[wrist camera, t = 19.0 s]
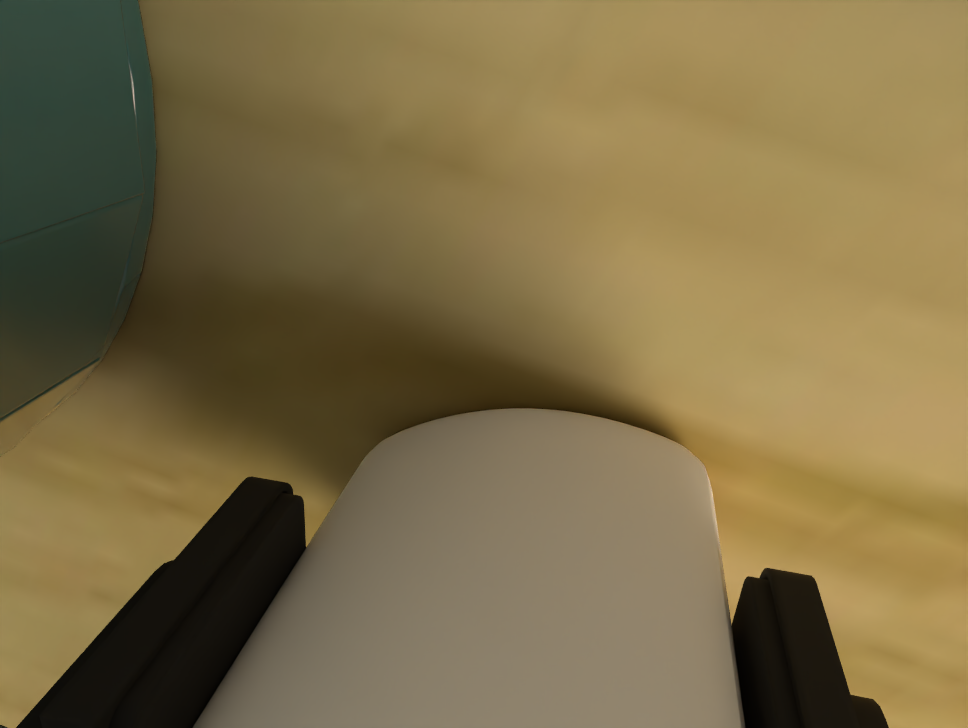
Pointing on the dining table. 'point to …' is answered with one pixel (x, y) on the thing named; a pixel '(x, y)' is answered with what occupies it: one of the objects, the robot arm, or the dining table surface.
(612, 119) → the dining table surface
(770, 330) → the dining table surface
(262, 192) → the dining table surface
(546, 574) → the eye dropper bottle
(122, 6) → the canister
